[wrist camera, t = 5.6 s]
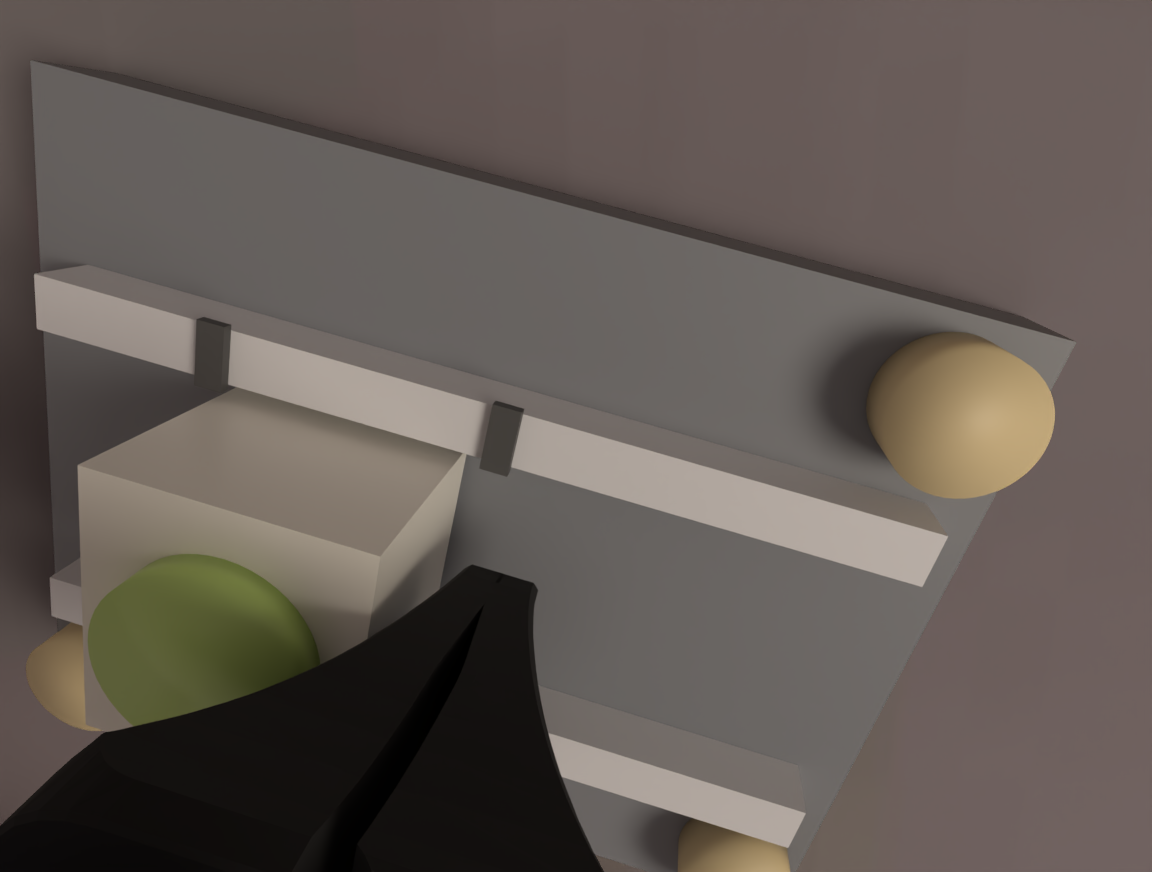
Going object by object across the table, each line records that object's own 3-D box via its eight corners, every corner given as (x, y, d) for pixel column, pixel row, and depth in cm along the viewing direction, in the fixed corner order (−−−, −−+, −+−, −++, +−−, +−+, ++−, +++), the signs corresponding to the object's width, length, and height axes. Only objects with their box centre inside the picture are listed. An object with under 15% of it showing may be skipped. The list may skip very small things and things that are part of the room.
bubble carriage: (468, 447, 13) (361, 580, 9) (427, 650, 15) (321, 839, 11) (245, 383, 14) (41, 483, 9) (232, 589, 15) (55, 752, 11)
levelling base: (1022, 317, 13) (1125, 365, 10) (766, 837, 18) (781, 975, 15) (116, 73, 14) (-48, 48, 11) (120, 633, 19) (9, 724, 16)
